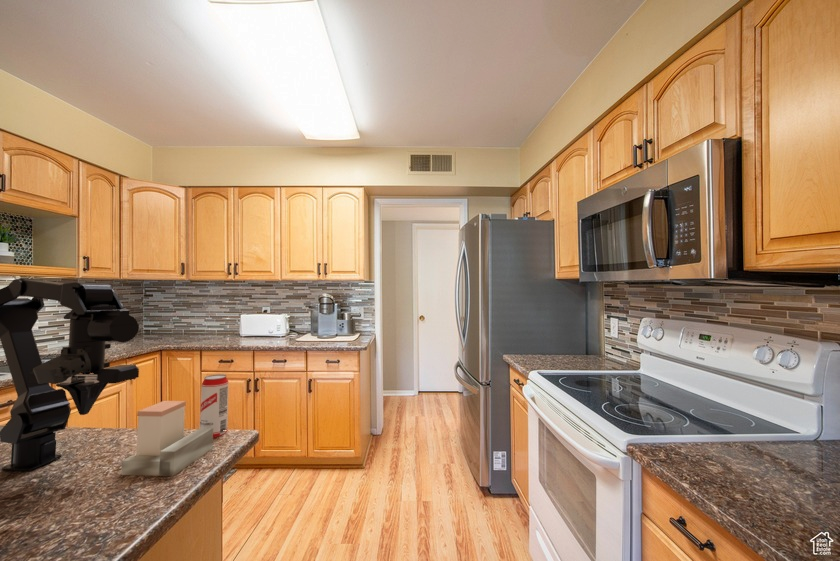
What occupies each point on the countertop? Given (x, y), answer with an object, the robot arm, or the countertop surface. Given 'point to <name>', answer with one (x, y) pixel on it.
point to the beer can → (214, 404)
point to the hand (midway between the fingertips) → (84, 414)
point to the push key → (160, 427)
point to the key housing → (171, 456)
